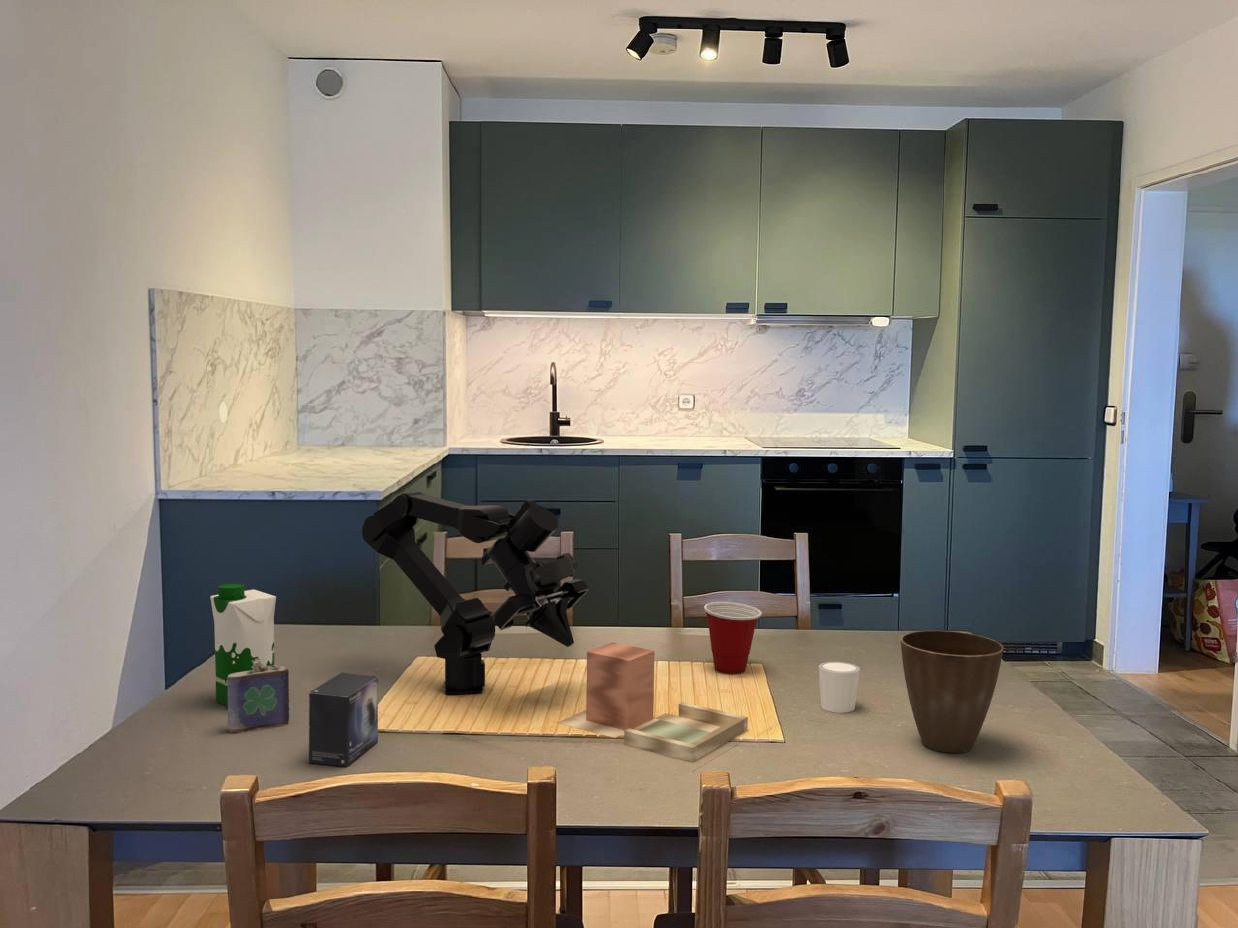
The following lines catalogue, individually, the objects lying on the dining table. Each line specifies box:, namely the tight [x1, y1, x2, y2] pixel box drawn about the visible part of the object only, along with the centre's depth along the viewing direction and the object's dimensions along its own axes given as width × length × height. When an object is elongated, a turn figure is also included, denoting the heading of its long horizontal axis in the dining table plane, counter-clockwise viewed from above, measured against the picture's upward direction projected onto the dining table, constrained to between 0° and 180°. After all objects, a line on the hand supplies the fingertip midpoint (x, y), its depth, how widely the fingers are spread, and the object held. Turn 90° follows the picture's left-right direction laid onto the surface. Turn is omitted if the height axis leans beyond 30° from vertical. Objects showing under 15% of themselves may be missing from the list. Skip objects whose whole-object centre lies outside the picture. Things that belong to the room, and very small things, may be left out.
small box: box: [307, 672, 379, 767], centre depth 155 cm, size 11×6×10 cm, turn 168°
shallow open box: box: [556, 701, 749, 772], centre depth 164 cm, size 25×16×4 cm, turn 55°
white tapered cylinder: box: [818, 661, 861, 714], centre depth 179 cm, size 7×7×7 cm
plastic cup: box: [703, 601, 763, 675], centre depth 199 cm, size 11×11×12 cm
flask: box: [227, 658, 290, 734], centre depth 166 cm, size 9×3×11 cm, turn 121°
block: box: [585, 642, 656, 730], centre depth 167 cm, size 8×7×11 cm
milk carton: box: [209, 582, 277, 708], centre depth 177 cm, size 9×9×20 cm
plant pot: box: [900, 630, 1005, 754], centre depth 162 cm, size 15×15×16 cm
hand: (571, 644), depth 172 cm, fingers closed
